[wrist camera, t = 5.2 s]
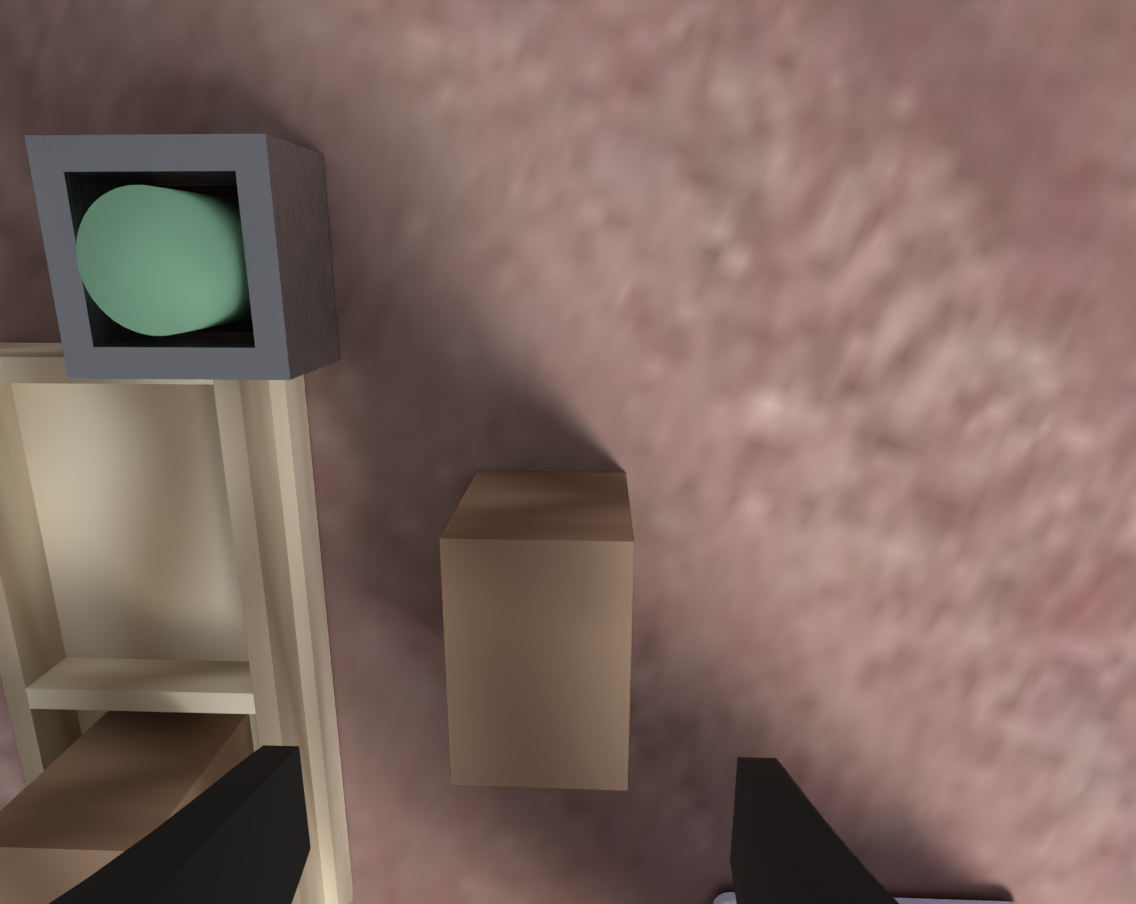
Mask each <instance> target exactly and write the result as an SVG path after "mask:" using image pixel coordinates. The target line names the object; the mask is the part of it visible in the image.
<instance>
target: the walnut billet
mask: <svg viewBox="0 0 1136 904" xmlns="http://www.w3.org/2000/svg"><path fill="white" fill-rule="evenodd" d="M439 542H440V563H441V584H442V605H443V626H444V647H445V668H446V689H447V710H448V731H449V752H450V773H451V785H457V786H490V787H524V788H557V789H591V790H624V791H628V755H629V718H630V680H631V642H632V604H633V567H634V536H633V528H632V520H631V512H630V503H629V495H628V487H627V479H626V472H554V471H477V472H476V474H475V476H474V478H473V479H472V481H471V483H470V485H469V487H468V488H467V490H466V492H465V494H464V495H463V497H462V499H461V501H460V503H459V504H458V506H457V508H456V510H455V511H454V513H453V515H452V517H451V519H450V520H449V522H448V524H447V526H446V527H445V529H444V531H443V533H442V535H441V536H440V538H439Z"/></svg>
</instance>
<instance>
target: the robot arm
mask: <svg viewBox="0 0 1136 904" xmlns="http://www.w3.org/2000/svg"><path fill="white" fill-rule="evenodd" d="M310 849H311V846H310V837H309V828H308V820H307V811H306V802H305V793H304V784H303V775H302V767H301V758H300V749H299V746H272V745H263V746H262V747H260V748H259V749H257V750H256V751H255V752H253V753H252V754H251V755H249V756H248V757H247V758H245V759H244V760H243V761H241V762H240V763H239V764H238V765H236V766H235V767H234V768H233V769H231V770H230V771H229V772H227V773H226V774H225V775H224V776H222V777H221V778H220V779H219V780H217V781H216V782H215V783H214V784H212V785H211V786H210V787H209V788H207V789H206V790H205V791H204V792H202V793H201V794H200V795H199V796H197V797H196V798H195V799H193V800H192V801H191V802H189V803H188V804H187V805H186V806H184V807H183V808H182V809H180V810H179V811H178V812H177V813H175V814H174V815H173V816H171V817H170V818H169V819H168V820H166V821H165V822H164V823H162V824H161V825H160V826H159V827H157V828H156V829H155V830H153V831H152V832H151V833H149V834H148V835H146V836H145V837H144V838H142V839H141V840H140V841H138V842H137V843H135V844H134V845H133V846H131V847H130V848H128V849H127V850H126V851H124V852H123V853H121V854H120V855H119V856H117V857H116V858H115V859H113V860H112V861H110V862H109V863H108V864H106V865H105V866H103V867H102V868H101V869H99V870H98V871H96V872H95V873H94V874H92V875H91V876H89V877H88V878H87V879H85V880H84V881H82V882H81V883H79V884H78V885H76V886H75V887H73V888H72V889H70V890H69V891H67V892H66V893H64V894H63V895H61V896H60V897H58V898H56V899H55V900H53V901H52V902H50V903H49V904H292V901H293V898H294V896H295V893H296V890H297V887H298V885H299V882H300V879H301V876H302V873H303V870H304V867H305V864H306V861H307V858H308V855H309V852H310ZM730 863H731V869H732V876H733V883H734V890H735V892H727V893H723V894H720V895H718V896H717V897H716V899H715V900H714V903H713V904H1017V903H1014V902H1009V901H980V900H950V899H920V898H894V897H893V896H892V895H891V894H890V893H889V892H888V891H887V890H886V889H885V888H884V887H883V886H882V885H881V884H880V883H879V882H878V880H877V879H876V878H875V877H874V876H873V875H872V874H871V873H870V872H869V871H868V870H867V868H866V867H865V866H864V865H863V864H862V863H861V862H860V860H859V859H858V858H857V857H856V856H855V855H854V853H853V852H852V851H851V850H850V849H849V848H848V847H847V845H846V844H845V843H844V842H843V841H842V840H841V838H840V837H839V836H838V835H837V834H836V833H835V831H834V830H833V829H832V828H831V827H830V825H829V824H828V823H827V822H826V821H825V819H824V818H823V817H822V816H821V814H820V813H819V812H818V811H817V809H816V808H815V807H814V806H813V804H812V803H811V802H810V801H809V799H808V798H807V797H806V795H805V794H804V793H803V792H802V790H801V789H800V788H799V786H798V785H797V784H796V783H795V781H794V780H793V779H792V777H791V776H790V775H789V773H788V772H787V771H786V769H785V768H784V767H783V766H782V764H781V763H780V762H779V761H778V760H777V759H776V758H743V757H738V760H737V774H736V788H735V802H734V816H733V830H732V844H731V858H730Z"/></svg>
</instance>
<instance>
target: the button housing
mask: <svg viewBox="0 0 1136 904" xmlns="http://www.w3.org/2000/svg"><path fill="white" fill-rule="evenodd" d="M24 138H25V143H26V149H27V154H28V160H29V165H30V171H31V177H32V182H33V188H34V193H35V199H36V204H37V210H38V215H39V221H40V226H41V232H42V237H43V243H44V248H45V254H46V259H47V265H48V271H49V276H50V282H51V287H52V293H53V298H54V304H55V309H56V315H57V320H58V326H59V331H60V337H61V342H62V348H63V353H64V359H65V365H66V370H67V376H68V379H204V380H292V379H294V378H296V377H299V376H301V375H304V374H306V373H309V372H311V371H313V370H316V369H318V368H321V367H323V366H325V365H328V364H330V363H333V362H335V361H338V360H340V354H339V342H338V330H337V317H336V305H335V293H334V281H333V269H332V256H331V244H330V232H329V220H328V208H327V196H326V183H325V171H324V159H323V154H321V153H318V152H315V151H313V150H310V149H307V148H304V147H301V146H299V145H296V144H293V143H290V142H288V141H285V140H282V139H279V138H276V137H274V136H271V135H268V134H133V135H24ZM127 185H148V186H154V187H155V185H237V190H238V199H239V207H240V216H241V225H242V234H243V243H244V252H245V261H246V270H247V279H248V288H249V297H250V306H251V315H252V324H253V332H184V333H178V334H173V335H167V336H152V335H146V334H141V333H138V332H135V331H132V330H130V329H128V328H125V327H123V326H122V325H120V324H118V323H117V322H115V321H114V320H113V319H111V318H110V317H109V316H108V315H106V314H105V313H104V312H103V311H102V310H101V309H100V308H99V306H98V305H97V304H96V303H95V301H94V300H93V299H92V297H91V296H90V294H89V293H88V291H87V289H86V287H85V285H84V283H83V281H82V278H81V275H80V272H79V268H78V264H77V256H76V241H77V235H78V230H79V227H80V224H81V222H82V219H83V217H84V215H85V214H86V212H87V211H88V209H89V208H90V206H91V205H92V204H93V203H94V202H95V201H96V200H97V199H99V198H100V197H101V196H102V195H104V194H106V193H107V192H109V191H111V190H114V189H116V188H119V187H123V186H127Z"/></svg>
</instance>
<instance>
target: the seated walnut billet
mask: <svg viewBox="0 0 1136 904" xmlns="http://www.w3.org/2000/svg"><path fill="white" fill-rule="evenodd" d="M253 752H254V747H253V739H252V732H251V724H250V717H249V714H227V713H187V712H146V711H107V712H106V713H105V714H104V715H103V716H102V717H101V718H100V719H99V720H98V721H97V722H96V723H95V724H93V725H92V726H91V727H90V728H89V729H88V730H87V731H86V732H85V733H84V734H83V735H82V736H81V737H80V738H78V739H77V740H76V741H75V742H74V743H73V744H72V745H71V746H70V747H69V748H68V749H67V750H66V751H65V752H63V753H62V754H61V755H60V756H59V757H58V758H57V759H56V760H55V761H54V762H53V763H52V764H51V765H50V766H48V767H47V768H46V769H45V770H44V771H43V772H42V773H41V774H40V775H39V776H38V777H37V778H36V779H35V780H34V781H32V782H31V783H30V784H29V785H28V786H27V787H26V788H25V789H24V790H23V791H22V792H21V793H20V794H19V795H17V796H16V797H15V798H14V799H13V800H12V801H11V802H10V803H9V804H8V805H7V806H6V807H5V808H4V809H2V810H1V811H0V904H49V903H50V902H52V901H53V900H55V899H56V898H58V897H60V896H61V895H63V894H64V893H66V892H67V891H69V890H70V889H72V888H73V887H75V886H76V885H78V884H79V883H81V882H82V881H84V880H85V879H87V878H88V877H89V876H91V875H92V874H94V873H95V872H96V871H98V870H99V869H101V868H102V867H103V866H105V865H106V864H108V863H109V862H110V861H112V860H113V859H115V858H116V857H117V856H119V855H120V854H121V853H123V852H124V851H126V850H127V849H128V848H130V847H131V846H133V845H134V844H135V843H137V842H138V841H140V840H141V839H142V838H144V837H145V836H146V835H148V834H149V833H151V832H152V831H153V830H155V829H156V828H157V827H159V826H160V825H161V824H162V823H164V822H165V821H166V820H168V819H169V818H170V817H171V816H173V815H174V814H175V813H177V812H178V811H179V810H180V809H182V808H183V807H184V806H186V805H187V804H188V803H189V802H191V801H192V800H193V799H195V798H196V797H197V796H199V795H200V794H201V793H202V792H204V791H205V790H206V789H207V788H209V787H210V786H211V785H212V784H214V783H215V782H216V781H217V780H219V779H220V778H221V777H222V776H224V775H225V774H226V773H227V772H229V771H230V770H231V769H233V768H234V767H235V766H236V765H238V764H239V763H240V762H241V761H243V760H244V759H245V758H247V757H248V756H249V755H251V754H252V753H253Z"/></svg>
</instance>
